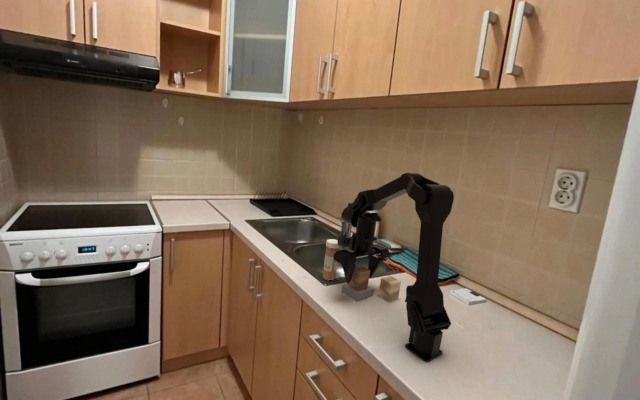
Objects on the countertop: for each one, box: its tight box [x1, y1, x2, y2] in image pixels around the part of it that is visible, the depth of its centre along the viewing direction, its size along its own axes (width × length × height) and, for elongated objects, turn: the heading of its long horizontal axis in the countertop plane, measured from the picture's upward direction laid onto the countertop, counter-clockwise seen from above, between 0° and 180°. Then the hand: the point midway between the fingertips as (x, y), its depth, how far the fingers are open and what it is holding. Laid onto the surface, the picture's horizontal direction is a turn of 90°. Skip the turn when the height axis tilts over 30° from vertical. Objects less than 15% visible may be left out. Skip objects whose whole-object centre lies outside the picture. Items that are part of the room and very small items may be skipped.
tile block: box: [340, 282, 374, 303], centre depth 108 cm, size 7×7×3 cm
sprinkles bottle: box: [322, 238, 341, 281], centre depth 116 cm, size 5×5×13 cm
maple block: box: [378, 275, 402, 303], centre depth 108 cm, size 4×4×6 cm
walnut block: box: [348, 264, 370, 291], centre depth 107 cm, size 4×4×6 cm
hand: (358, 280), depth 107 cm, fingers open, 9 cm apart
